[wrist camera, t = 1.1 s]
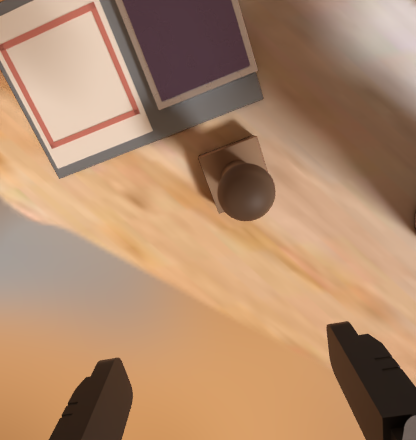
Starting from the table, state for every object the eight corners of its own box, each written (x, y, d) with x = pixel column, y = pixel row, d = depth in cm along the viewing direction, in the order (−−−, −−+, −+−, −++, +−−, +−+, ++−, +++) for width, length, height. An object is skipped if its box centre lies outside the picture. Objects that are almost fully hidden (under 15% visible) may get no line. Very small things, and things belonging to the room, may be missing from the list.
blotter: (207, -94, 24) (207, -100, 24) (262, 99, 29) (264, 98, 28) (-25, 17, 27) (-31, 15, 26) (61, 178, 32) (57, 179, 31)
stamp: (252, 135, 30) (279, 142, 19) (269, 188, 32) (302, 223, 21) (199, 155, 31) (194, 174, 20) (218, 206, 33) (223, 250, 21)
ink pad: (217, -62, 25) (218, -73, 23) (255, 72, 28) (258, 69, 27) (112, -13, 26) (106, -21, 24) (160, 110, 29) (158, 110, 28)
